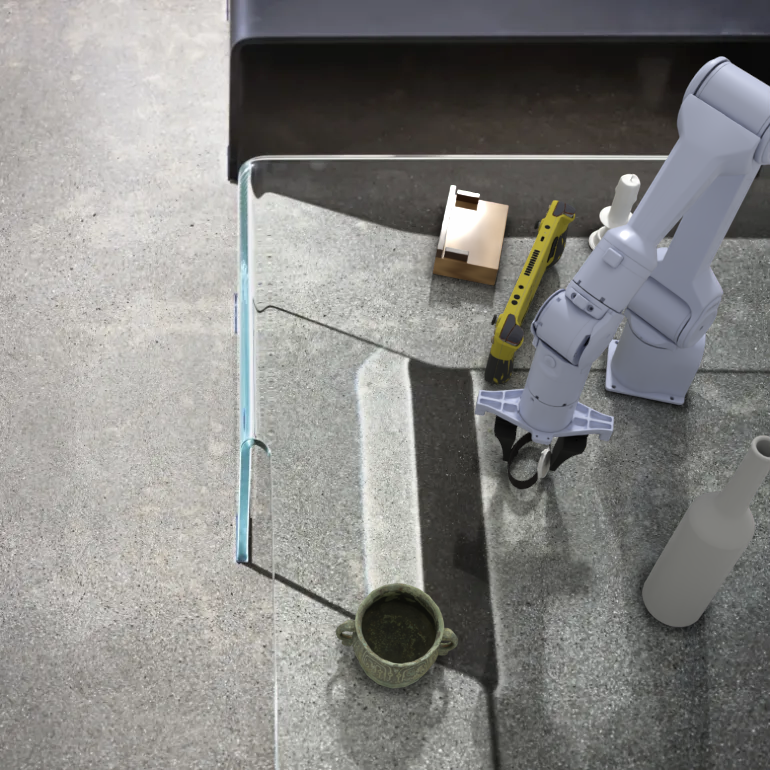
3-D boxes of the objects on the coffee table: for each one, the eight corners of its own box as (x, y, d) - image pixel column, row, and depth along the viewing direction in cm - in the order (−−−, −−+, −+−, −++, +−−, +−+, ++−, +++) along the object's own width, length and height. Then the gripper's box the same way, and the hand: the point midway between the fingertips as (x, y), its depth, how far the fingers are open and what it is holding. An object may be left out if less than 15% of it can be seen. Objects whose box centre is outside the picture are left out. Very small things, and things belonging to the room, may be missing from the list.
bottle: (713, 590, 123) (815, 439, 101) (690, 638, 119) (790, 492, 97) (656, 560, 124) (744, 404, 102) (632, 606, 121) (718, 455, 99)
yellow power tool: (532, 247, 152) (548, 190, 144) (563, 257, 151) (580, 201, 143) (471, 386, 137) (484, 331, 129) (505, 398, 136) (520, 344, 128)
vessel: (453, 617, 118) (462, 588, 113) (452, 699, 113) (461, 672, 108) (336, 606, 118) (340, 576, 113) (329, 688, 112) (333, 661, 107)
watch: (534, 500, 128) (541, 482, 125) (495, 482, 129) (501, 464, 126) (558, 449, 132) (564, 431, 129) (520, 433, 133) (526, 414, 130)
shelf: (505, 221, 154) (511, 196, 151) (494, 285, 147) (500, 261, 143) (446, 210, 155) (450, 185, 151) (432, 273, 147) (436, 248, 144)
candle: (600, 224, 156) (623, 156, 146) (635, 242, 154) (660, 175, 145) (581, 246, 153) (603, 178, 143) (616, 265, 151) (641, 197, 142)
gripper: (479, 400, 116) (460, 475, 127) (622, 429, 116) (590, 501, 127) (488, 348, 121) (469, 424, 131) (625, 375, 120) (595, 450, 131)
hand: (529, 459), depth 129 cm, fingers closed on watch, 5 cm apart
